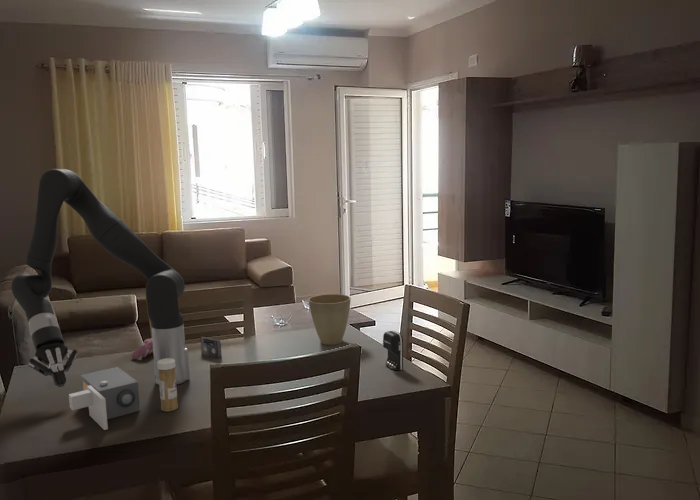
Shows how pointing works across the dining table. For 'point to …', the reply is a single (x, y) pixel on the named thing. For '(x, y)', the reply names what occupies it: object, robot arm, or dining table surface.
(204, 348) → the mini dv tape
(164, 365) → the sprinkles bottle
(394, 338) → the battery charger
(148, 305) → the robot arm
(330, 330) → the plant pot
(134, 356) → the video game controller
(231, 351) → the dining table surface
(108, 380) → the box
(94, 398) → the side cover
